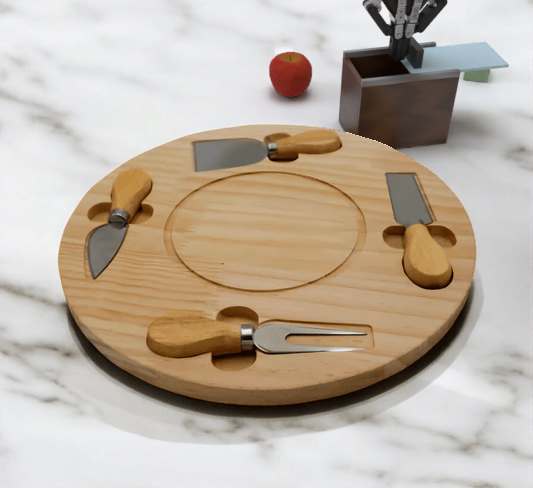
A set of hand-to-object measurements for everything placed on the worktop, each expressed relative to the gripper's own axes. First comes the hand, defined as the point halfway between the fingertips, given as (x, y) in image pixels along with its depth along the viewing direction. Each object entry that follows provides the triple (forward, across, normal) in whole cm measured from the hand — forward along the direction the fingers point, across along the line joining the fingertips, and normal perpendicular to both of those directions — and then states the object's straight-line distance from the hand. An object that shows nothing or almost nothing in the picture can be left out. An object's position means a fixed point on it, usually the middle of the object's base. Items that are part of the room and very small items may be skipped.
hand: (397, 58), depth 102 cm
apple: (+14, -13, +17) cm, 25 cm away
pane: (+1, +9, 0) cm, 9 cm away
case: (+13, 0, 0) cm, 13 cm away
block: (+13, +23, +16) cm, 31 cm away
